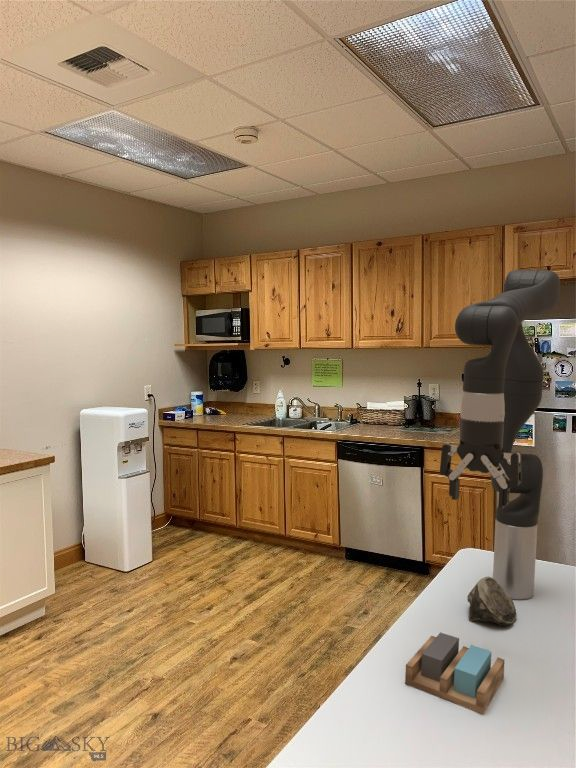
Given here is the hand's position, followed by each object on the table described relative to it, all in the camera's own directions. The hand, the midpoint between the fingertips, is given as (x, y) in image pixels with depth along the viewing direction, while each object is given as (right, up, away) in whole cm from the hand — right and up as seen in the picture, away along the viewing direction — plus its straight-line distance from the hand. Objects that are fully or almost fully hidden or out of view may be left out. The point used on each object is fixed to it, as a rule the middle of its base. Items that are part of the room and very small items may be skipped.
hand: (478, 503), depth 107 cm
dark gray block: (-7, -29, -2) cm, 30 cm away
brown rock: (+9, -29, +18) cm, 35 cm away
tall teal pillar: (-3, -30, -6) cm, 31 cm away
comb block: (-6, -31, -4) cm, 31 cm away
